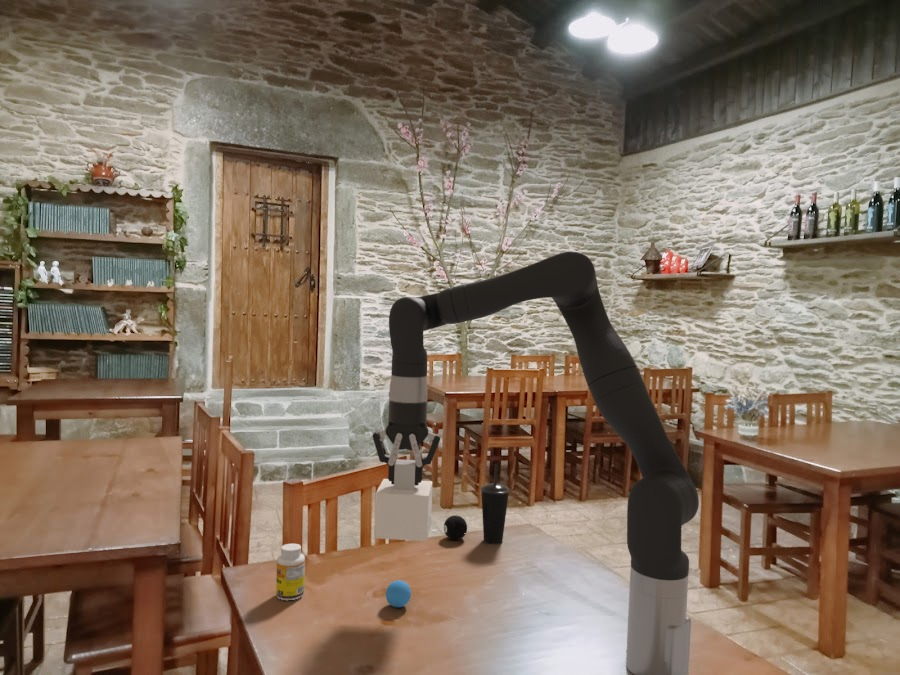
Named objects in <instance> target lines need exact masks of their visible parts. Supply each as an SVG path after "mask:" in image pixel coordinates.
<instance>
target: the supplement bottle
mask: <svg viewBox="0 0 900 675" xmlns="http://www.w3.org/2000/svg"><path fill="white" fill-rule="evenodd" d="M305 571H306V557H305V555H304V554H303V553H302V546H301V544H299V543H285V544H283V545H282V546H281V548H280V555H278V556H277V557H276V579H275V580H276V584H275V586H276V588H275V591H276V592H275V593H276V594H275V595H276V598H277V599H279V600H280V599H281V601H283V600H294V601H296V600H295V599H297V600H299V599H301V598H302V597H303V596H304V593H305V577H306V576H305V575H306V574H305V573H306V572H305ZM300 597H301V598H300ZM298 598H299V599H298Z"/></svg>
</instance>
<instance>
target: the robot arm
mask: <svg viewBox="0 0 900 675" xmlns="http://www.w3.org/2000/svg"><path fill="white" fill-rule="evenodd" d="M547 298H551V299H552V300H553V302H554V303H555V306H557V308H558V310H559V312H560V313H561V315H562V317H563V319H564V321H565V323H566V324H567V326H568V328H569V331H570V333H571V335H572V338H573V340H574V343H575V346H576V352H577V356H578V359H579V360H578V361H579V363H580V367H581V370H582V373H583V376H584V379H585V382H586V385H587V386H588V389H589V391H590V395H591V396H592V399H593V401H594V404H595V406H596V407H597V409H598V411H599V413H600V415H601V416H602V418H603V419H604V420H605V421H606V422H607V424H608V425H609V427H610V428H611V429H613V431H614V432H615V433H616V434H617V435H618V437H620V438H621V440H622V442H624V444H625V445H626V446H627V447H628V449H629V451H630V453H631V454H632V456H633V458H634V460H635V462H636V465H637V467H638V470H639V472H640V474H641V478H640V479H639V480H638V481H636V482H635V483H634V484H633V485H632V487H631V488H630V491H629V493H628V494H629V495H628V498H627V507H626V508H627V510H626V511H627V512H626V517H627V518H626V521H627V522H626V542H627V548H628V552H629V554H630V572H629V574H630V576H629V590H628V591H629V592H628V616H627V634H626V635H627V636H626V649H625V650H626V651H625V652H626V657H625V659H626V660H625V665H626V668H627V669H628V671H629V672H630V673H631V674H632V675H689V674H690V673H689V671H690V670H689V669H690V668H689V667H690V655H691V654H690V650H691V636H692V635H691V633H692V620H691V618H690V617H688V616H687V611H688V610H687V607H688V592H689V591H688V590H689V588H688V587H689V572H690V558H689V556H688V555H687V553H686V552H684V551H683V550H682V526H683V525H685V524H687V523H690V522H691V521H692V519H694V517H695V516H696V515H697V513H698V510H699V504H700V501H699V498H700V497H699V494H698V491H697V487H696V486H695V483H694V482H693V480H692V478H691V476H690V474H689V472H688V471H687V469H686V467H685V465H684V464H683V462H682V460H681V459H680V457H679V455H678V454H677V451H676V450H675V448H674V446H673V445H672V443H671V441H670V439H669V437H668V434H667V433H666V429H665V428H664V425H663V423H662V420H661V418H660V416H659V414H658V411H657V410H656V408H655V405H654V403H653V401H652V399H651V398H652V397H651V396H650V394H649V391H648V389H647V385H646V384H645V380H644V379H643V377H642V374H641V372H640V369H639V368H638V366H637V364H636V362H635V360H634V358H633V356H632V354H631V352H630V351H629V349H628V347H627V346H626V344H625V343H624V341H623V340H622V338H621V337H620V335H619V334H618V332H617V331H616V330H615V328H614V325H612V323H611V321H610V319H609V316H608V314H607V311H606V308H605V305H604V302H603V299H602V296H601V292H600V290H599V285H598V280H597V275H596V269H595V266H594V263H593V262H592V260H591V258H589V256H587V255H586V254H584V253H583V252H580V251H577V250H566V251H562V252H559V253H557V254H554V255H551V256H549V257H546V258H545V259H542V260H539V261H537V262H535V263H532V264H530V265H527V266H525V267H521V268H518V269H515V270H514V271H513V270H512V271H510V272H507V273H505V274H504V273H503V274H500V275H497V276H494V277H490V278H487V279H486V278H485V279H482V280H478V281H473V282H470V283H466V284H461V285H460V284H459V285H456V286H451V287H448V288H445V289H443V290H441V291H439V292H436V293H431V294H427V295H422V296H416V297H414V296H412V297H411V296H404V297H400V298H398V299H397V300H395V301H394V303H393V304H392V306H391V308H390V311H389V316H388V330H389V331H388V332H389V339H390V345H391V350H392V352H391V353H392V354H391V376H390V377H391V378H390V381H389V382H390V383H389V392H388V420H387V421H388V423H387V426H386V428H385V429H383V430H380V431H379V430H376V431H374V432H373V434H372V440H373V443H374V447H375V450H376V453H377V456H378V460H379V462H380V463H385V464H387V465H388V477H387V479H389V481H391V484H394V472H395V463H396V461H397V459H398V455H399V452H400V451H401V450H408V451H412V453H413V454H412V455H413V456H414V460H415V462H416V467H415V485H417V486H418V484H419V483H421V481H423V475H424V474H423V472H424V471H423V470H424V466H426V465H431V464H432V463H433V462H432V461H433V458H434V456H435V454H436V451H437V449H438V446H439V445H440V444H439V443H440V441H441V438H442V437H441V436H442V435H441V434H440V433H433V432H431V431H429V428H428V426H427V418H428V417H427V415H428V414H427V412H428V410H427V409H428V388H429V387H428V377H427V376H428V352H427V349H426V348H425V346H424V332H425V331H428V330H432V329H435V328H439V327H442V326H446V325H454V324H461V323H465V322H469V321H474V320H477V319H481V318H486V317H488V316H491V315H494V314H496V313H499V312H500V311H503V310H505V309H507V308H509V307H512V306H514V305H517V304H519V303H523V302H527V301H531V300H536V299H547ZM386 436H387V438H388V439H389V441H390V442H391V444H392V448H391V452H390V455H388V454H387V452H386V451H387V450H386V447H385V444H384V441H385V439H386ZM427 438H428V444H429V445H430V448H429V450H428V452H427V455H426V456H424V457H423V454H422V448H421V445H422V443H423V442H424V441H425V439H427Z"/></svg>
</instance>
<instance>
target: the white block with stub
mask: <svg viewBox="0 0 900 675" xmlns="http://www.w3.org/2000/svg"><path fill="white" fill-rule="evenodd" d="M415 467H416V462H415V459H399V458H396V463H395V472H394V484H391V481H389V479H388V478H383V479H382V481H381V483H380V484H379V486H378V488H377V490H376V491H375V501H374V503H375V504H374V527H373V528H374V529H373V532H374V533H373V538H374V539H381V540H395V541H396V540H400V541H401V540H402V541H417V542H418V541H419V542H428V538H429V532H430V530H431V525H432V509H433V508H432V505H433V502H432V501H433V481H431V480H422V481H421V483H419V484H418V486H417V485H415Z"/></svg>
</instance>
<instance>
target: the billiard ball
mask: <svg viewBox="0 0 900 675" xmlns="http://www.w3.org/2000/svg"><path fill="white" fill-rule="evenodd" d="M443 531H444V534H445V535H446V537H447V538H448V537H449V538H448V539H450V540H454V541H458V540H461V539H462V538H464V537H465V536H466V534H467V533H468V532H467V531H468V525H467V522H466V519H464V518H463V516H459V515H451V516H449V517H447V519H445V521H444V524H443ZM464 533H466V534H464Z"/></svg>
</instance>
